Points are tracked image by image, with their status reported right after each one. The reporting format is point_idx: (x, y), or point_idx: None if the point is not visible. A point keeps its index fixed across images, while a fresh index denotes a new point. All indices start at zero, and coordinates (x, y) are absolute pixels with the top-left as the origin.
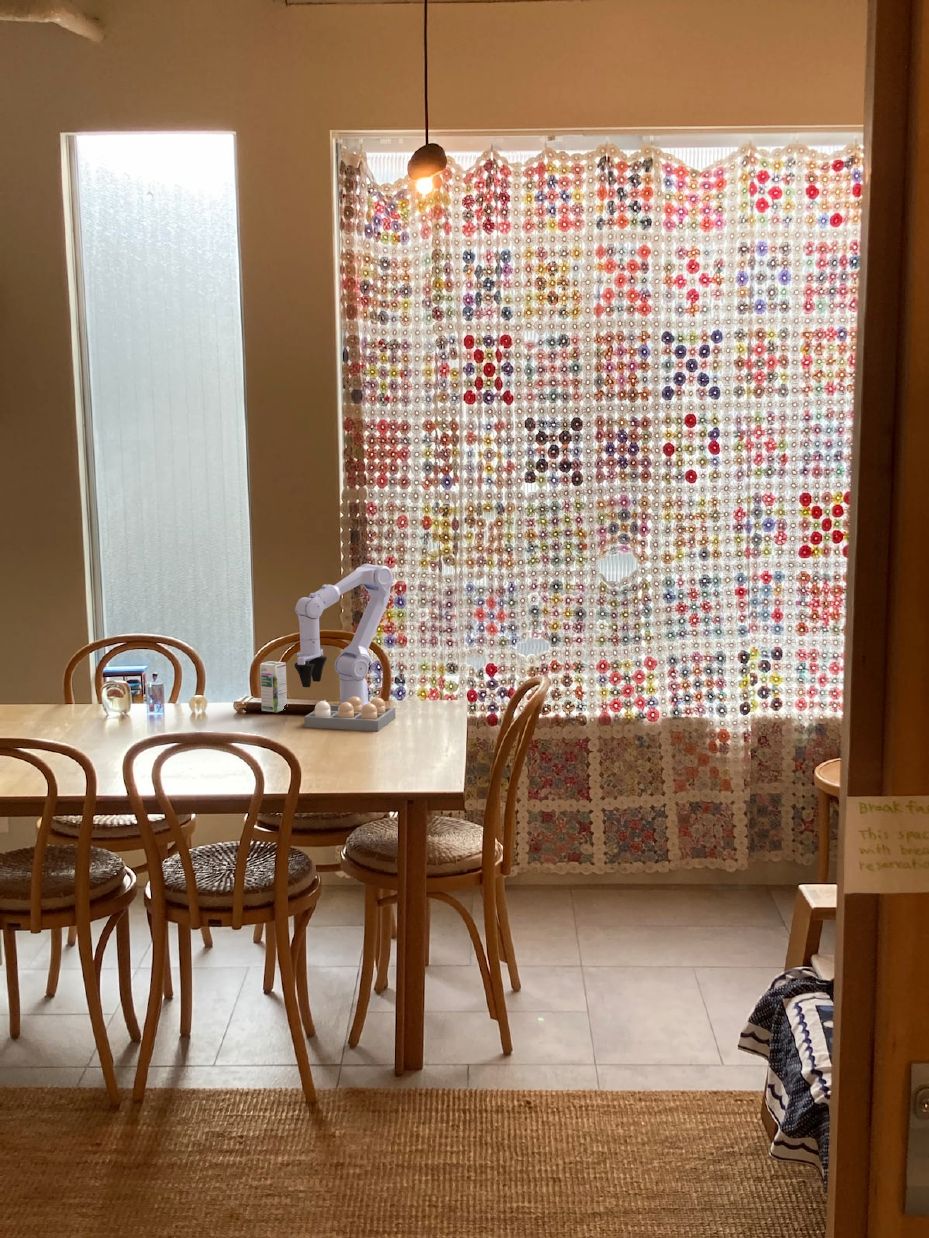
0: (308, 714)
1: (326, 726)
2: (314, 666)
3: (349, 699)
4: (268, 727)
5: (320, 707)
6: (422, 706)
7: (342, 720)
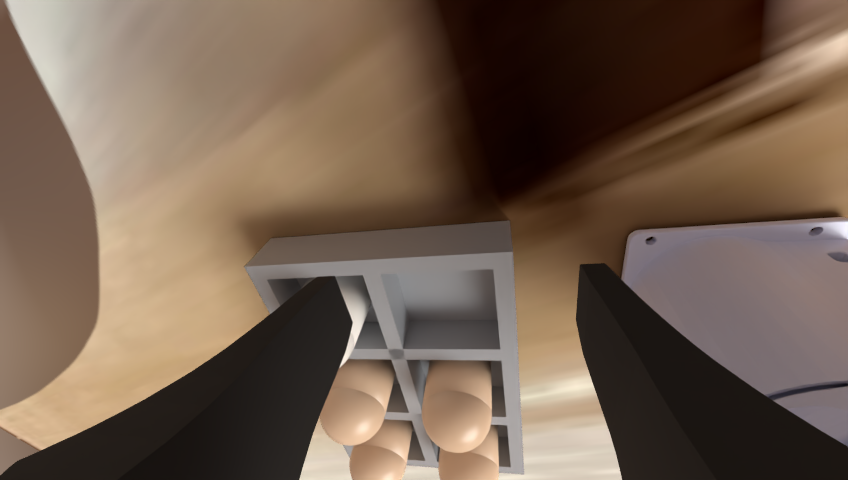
0: (285, 266)
1: None
2: (652, 453)
3: (432, 426)
4: (149, 78)
5: None
6: None
7: None
